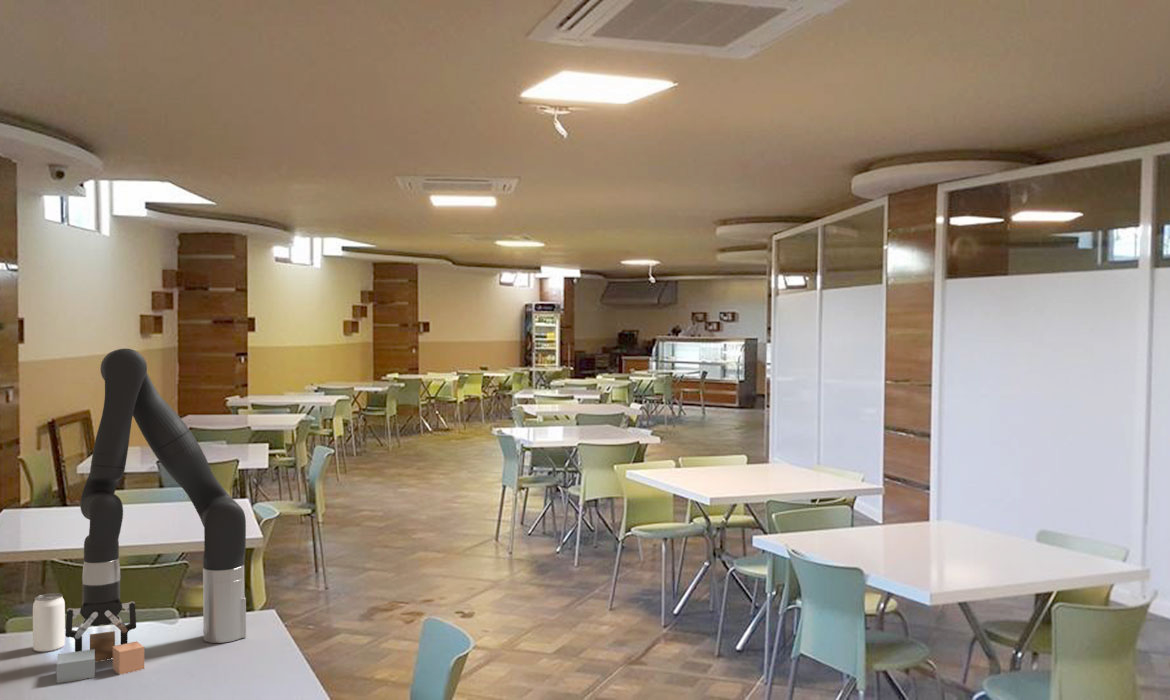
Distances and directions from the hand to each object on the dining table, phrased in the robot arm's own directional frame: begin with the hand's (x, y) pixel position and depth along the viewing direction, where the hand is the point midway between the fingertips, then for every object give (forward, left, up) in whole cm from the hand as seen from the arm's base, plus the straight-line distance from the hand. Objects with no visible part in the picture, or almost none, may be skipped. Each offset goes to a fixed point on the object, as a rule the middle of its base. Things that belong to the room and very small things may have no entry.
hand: (101, 651), depth 210 cm
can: (+11, -13, -2) cm, 17 cm away
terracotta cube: (-5, +11, -1) cm, 12 cm away
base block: (+5, +10, -1) cm, 11 cm away
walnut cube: (0, 0, -1) cm, 1 cm away
